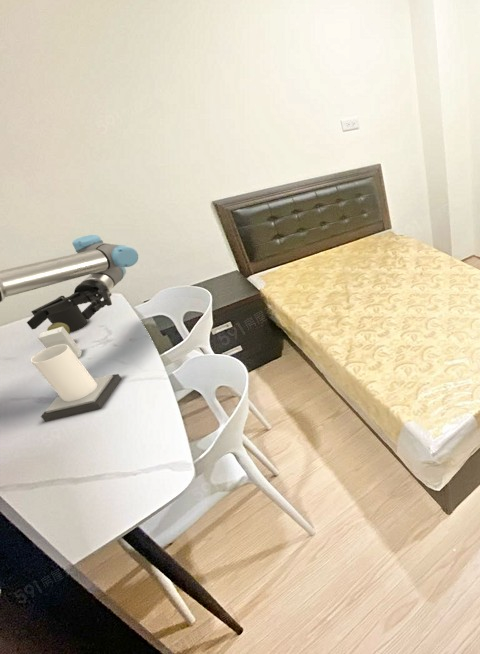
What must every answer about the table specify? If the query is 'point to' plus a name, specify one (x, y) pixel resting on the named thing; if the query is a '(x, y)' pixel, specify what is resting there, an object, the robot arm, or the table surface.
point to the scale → (83, 400)
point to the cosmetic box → (59, 339)
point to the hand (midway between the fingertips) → (58, 320)
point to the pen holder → (69, 318)
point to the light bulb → (57, 325)
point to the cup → (64, 372)
